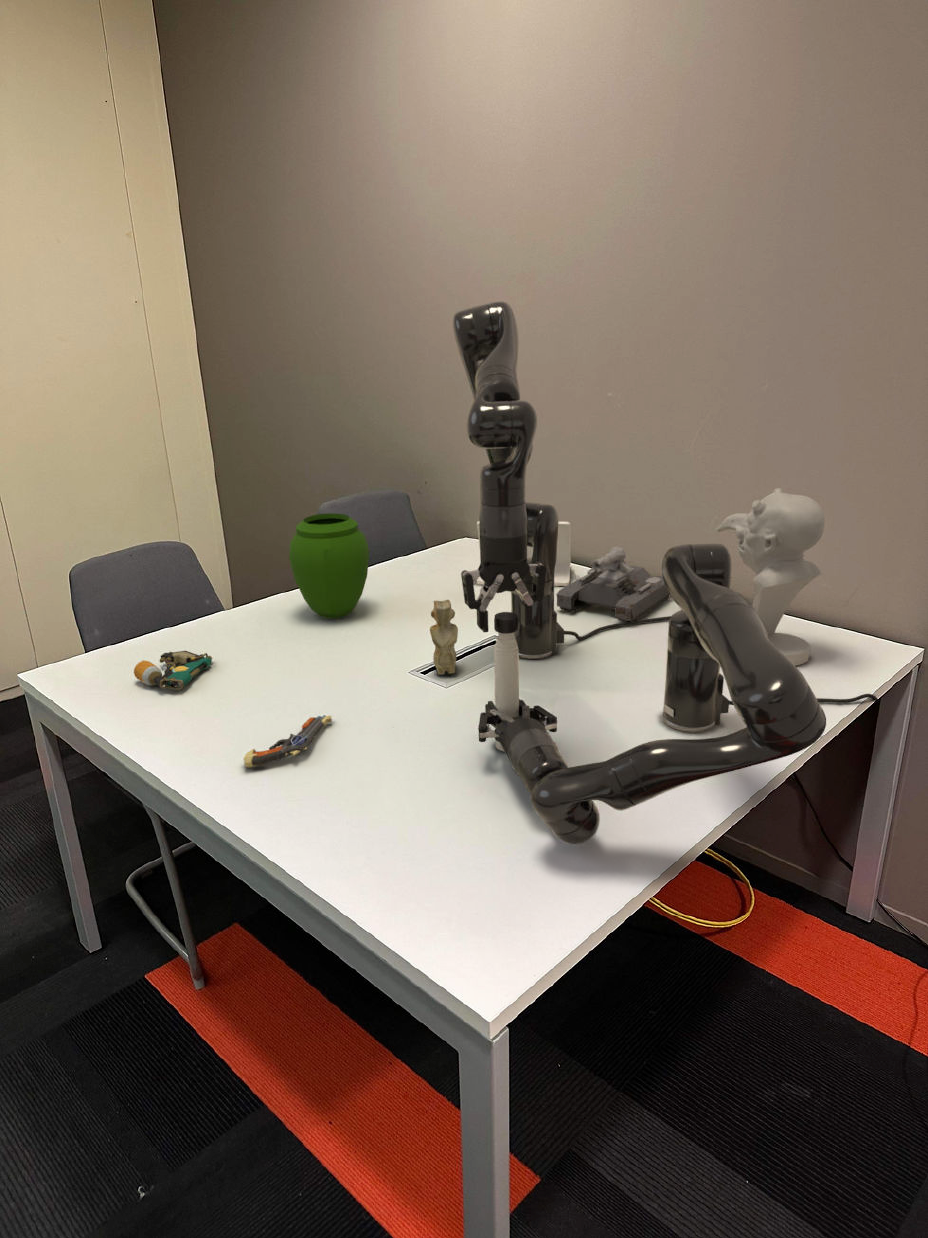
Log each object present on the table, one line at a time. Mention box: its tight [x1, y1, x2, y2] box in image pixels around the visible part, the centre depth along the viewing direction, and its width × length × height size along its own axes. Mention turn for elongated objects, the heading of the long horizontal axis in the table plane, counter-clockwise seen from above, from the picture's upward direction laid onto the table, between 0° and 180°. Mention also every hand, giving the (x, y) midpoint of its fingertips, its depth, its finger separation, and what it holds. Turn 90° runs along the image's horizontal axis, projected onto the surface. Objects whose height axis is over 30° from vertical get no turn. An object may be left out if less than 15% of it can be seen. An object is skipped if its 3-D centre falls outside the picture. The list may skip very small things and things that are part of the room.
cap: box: [493, 611, 518, 634], centre depth 141 cm, size 4×4×2 cm
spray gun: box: [133, 650, 213, 690], centre depth 180 cm, size 4×17×15 cm
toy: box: [556, 546, 671, 623], centre depth 212 cm, size 25×20×15 cm
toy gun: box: [243, 714, 333, 769], centre depth 151 cm, size 3×19×10 cm
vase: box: [288, 512, 370, 620], centre depth 209 cm, size 20×20×24 cm
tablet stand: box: [476, 520, 572, 587], centre depth 236 cm, size 18×25×17 cm
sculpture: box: [429, 599, 459, 675], centre depth 177 cm, size 6×7×15 cm
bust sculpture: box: [715, 487, 826, 667], centre depth 180 cm, size 16×24×35 cm
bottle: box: [493, 632, 520, 752], centre depth 145 cm, size 4×4×24 cm
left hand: (504, 627), depth 141 cm, fingers open, 6 cm apart
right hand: (503, 704), depth 149 cm, fingers closed on bottle, 4 cm apart
